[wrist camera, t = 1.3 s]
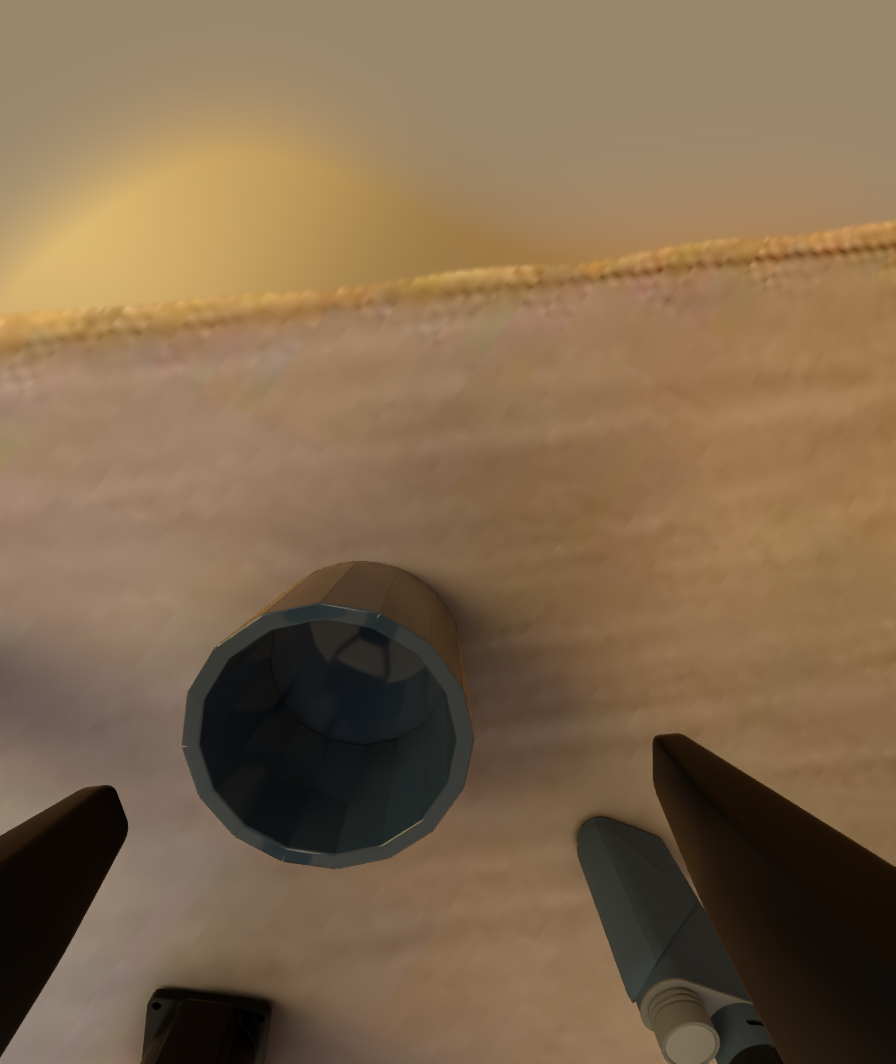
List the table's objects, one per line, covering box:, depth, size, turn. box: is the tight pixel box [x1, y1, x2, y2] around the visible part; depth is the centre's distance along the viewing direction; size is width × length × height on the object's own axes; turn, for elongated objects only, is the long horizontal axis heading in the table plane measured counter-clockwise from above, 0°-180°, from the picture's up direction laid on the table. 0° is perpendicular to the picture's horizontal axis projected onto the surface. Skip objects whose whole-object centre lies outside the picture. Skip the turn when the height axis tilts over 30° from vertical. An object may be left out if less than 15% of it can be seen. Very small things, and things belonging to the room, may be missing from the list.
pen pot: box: [182, 561, 474, 869], centre depth 17 cm, size 10×10×6 cm
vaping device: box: [577, 817, 784, 1064], centre depth 16 cm, size 3×5×12 cm, turn 67°
